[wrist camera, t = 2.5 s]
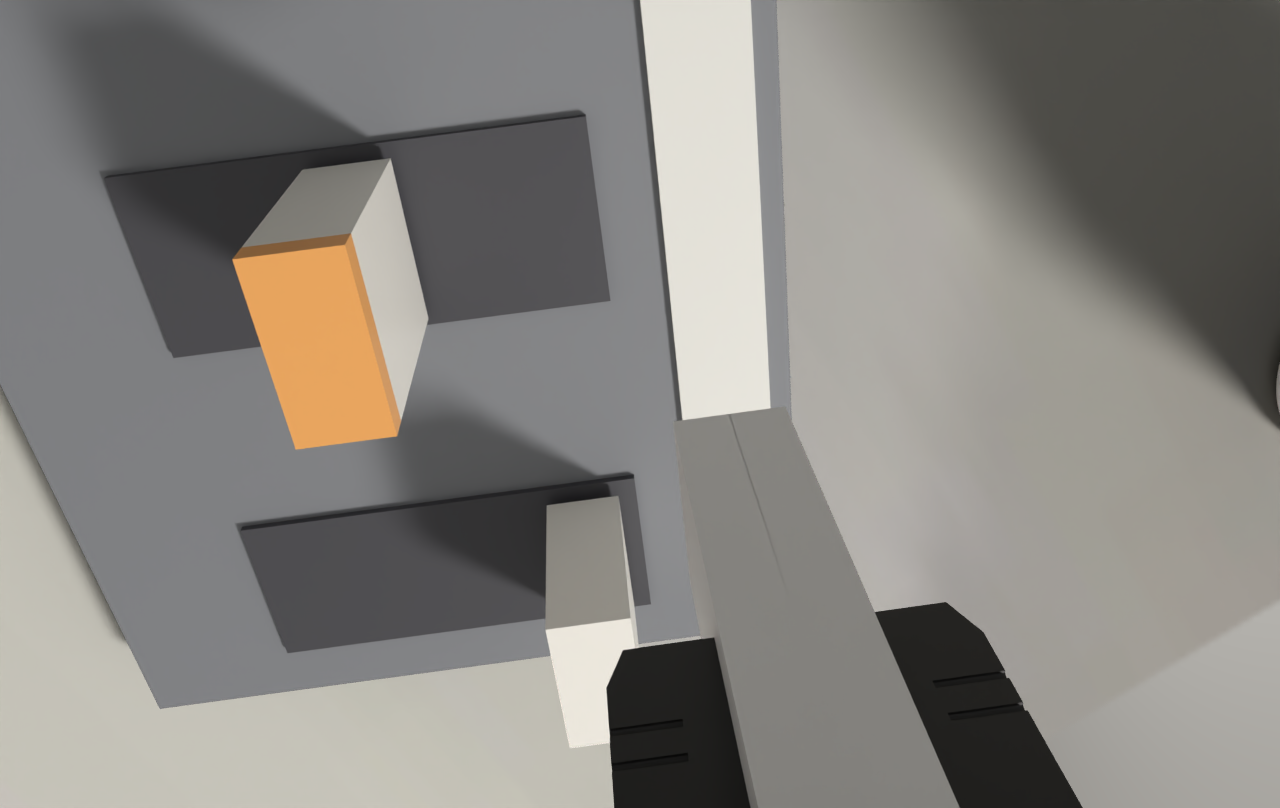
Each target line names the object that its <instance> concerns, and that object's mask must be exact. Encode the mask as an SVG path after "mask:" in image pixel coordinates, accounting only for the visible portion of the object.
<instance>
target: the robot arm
mask: <svg viewBox="0 0 1280 808" xmlns="http://www.w3.org/2000/svg"><path fill="white" fill-rule="evenodd" d="M673 426H674V436H675V445H676V454H677V464H678V473H679V482H680V492H681V501H682V510H683V520H684V529H685V538H686V548H687V557H688V566H689V576H690V584H691V589H692V594H693V599H694V604H695V610H696V615H697V620H698V625H699V630H700V635H701V639H699V640H692V641H684V642H677V643H670V644H663V645H656V646H649V647H641V648H634V649H627V650H623V651H622V653H621V656H620V658H619V660H618V663H617V665H616V667H615V669H614V672H613V674H612V676H611V678H610V681H609V683H608V685H607V687H606V691H607V706H608V721H609V732H610V750H611V764H612V779H613V794H614V808H1082V806H1081V804H1080V802H1079V801H1078V799H1077V797H1076V795H1075V794H1074V792H1073V790H1072V788H1071V786H1070V785H1069V783H1068V781H1067V780H1066V778H1065V776H1064V774H1063V772H1062V771H1061V769H1060V767H1059V765H1058V763H1057V762H1056V760H1055V758H1054V756H1053V755H1052V753H1051V751H1050V749H1049V748H1048V746H1047V744H1046V742H1045V740H1044V739H1043V737H1042V735H1041V733H1040V732H1039V730H1038V728H1037V726H1036V725H1035V723H1034V721H1033V719H1032V717H1031V716H1030V714H1029V712H1028V710H1027V711H1025V710H1024V707H1023V702H1022V700H1021V698H1020V696H1019V694H1018V693H1017V691H1016V689H1015V687H1014V686H1013V684H1012V682H1011V680H1010V679H1009V678H1006V675H1005V670H1004V668H1003V666H1002V664H1001V663H1000V661H999V659H998V657H997V656H996V654H995V652H994V650H993V648H992V647H991V645H990V643H989V641H988V640H987V638H986V636H985V634H984V633H983V632H982V631H981V630H980V629H979V628H977V627H976V626H975V625H974V624H972V623H971V622H970V621H969V620H967V619H966V618H965V617H964V616H962V615H961V614H960V613H959V612H958V611H956V610H955V609H954V608H953V607H951V606H950V605H949V604H948V603H946V602H944V603H937V604H930V605H922V606H915V607H908V608H901V609H894V610H886V611H879V612H874V610H873V607H872V605H871V603H870V600H869V598H868V596H867V593H866V591H865V589H864V587H863V584H862V582H861V580H860V577H859V575H858V573H857V570H856V568H855V566H854V564H853V561H852V559H851V557H850V554H849V552H848V550H847V547H846V545H845V543H844V540H843V538H842V536H841V534H840V531H839V529H838V527H837V524H836V522H835V520H834V517H833V515H832V513H831V511H830V508H829V506H828V504H827V501H826V499H825V497H824V494H823V492H822V490H821V488H820V485H819V483H818V481H817V478H816V476H815V474H814V471H813V469H812V467H811V465H810V462H809V460H808V458H807V455H806V453H805V451H804V448H803V446H802V444H801V442H800V439H799V437H798V435H797V432H796V430H795V428H794V425H793V423H792V421H791V419H790V416H789V414H788V412H787V409H786V407H785V406H784V407H777V408H769V409H762V410H755V411H747V412H740V413H732V414H725V415H718V416H710V417H703V418H695V419H688V420H681V421H673Z"/></svg>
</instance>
